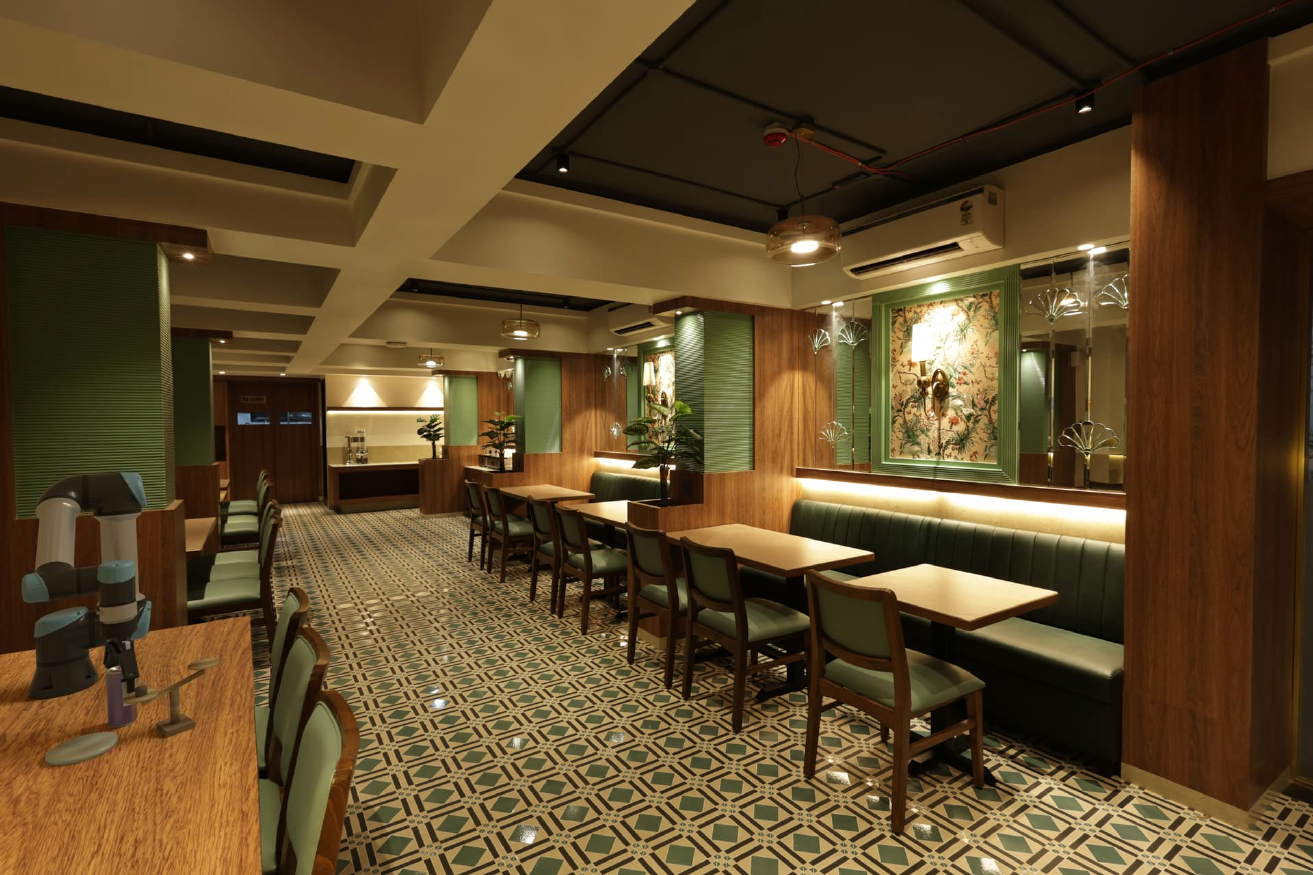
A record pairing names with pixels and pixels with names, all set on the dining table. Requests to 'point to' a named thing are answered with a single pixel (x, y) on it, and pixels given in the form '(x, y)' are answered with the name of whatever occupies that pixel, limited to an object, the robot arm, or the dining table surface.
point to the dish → (81, 748)
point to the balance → (171, 699)
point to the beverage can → (118, 701)
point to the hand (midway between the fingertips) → (121, 697)
